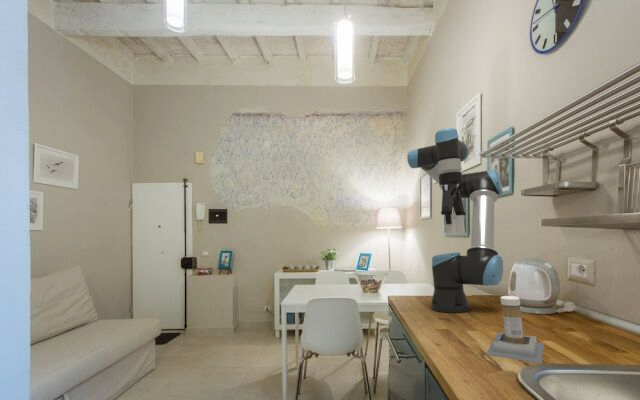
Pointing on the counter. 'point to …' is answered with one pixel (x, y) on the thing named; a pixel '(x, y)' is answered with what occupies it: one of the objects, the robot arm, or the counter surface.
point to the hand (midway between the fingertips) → (455, 234)
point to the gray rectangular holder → (535, 359)
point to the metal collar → (515, 345)
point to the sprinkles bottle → (512, 319)
